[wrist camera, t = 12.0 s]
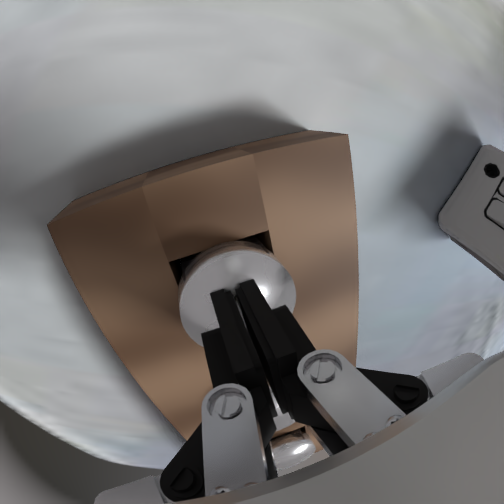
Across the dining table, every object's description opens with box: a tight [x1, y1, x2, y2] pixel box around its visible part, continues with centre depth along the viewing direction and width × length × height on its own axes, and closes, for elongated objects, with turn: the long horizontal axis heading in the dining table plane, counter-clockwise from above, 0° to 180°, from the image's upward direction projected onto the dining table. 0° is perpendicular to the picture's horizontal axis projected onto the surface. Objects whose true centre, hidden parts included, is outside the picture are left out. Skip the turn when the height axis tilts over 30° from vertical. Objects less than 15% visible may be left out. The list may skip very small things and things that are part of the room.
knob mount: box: [47, 130, 359, 453], centre depth 17 cm, size 26×12×4 cm, turn 13°
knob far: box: [270, 428, 316, 470], centre depth 20 cm, size 4×4×4 cm
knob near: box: [178, 235, 296, 347], centre depth 13 cm, size 4×4×4 cm
